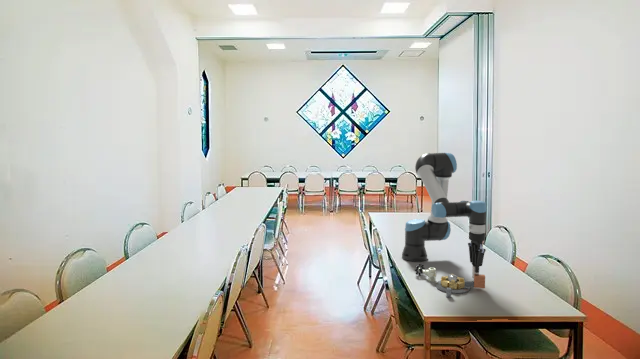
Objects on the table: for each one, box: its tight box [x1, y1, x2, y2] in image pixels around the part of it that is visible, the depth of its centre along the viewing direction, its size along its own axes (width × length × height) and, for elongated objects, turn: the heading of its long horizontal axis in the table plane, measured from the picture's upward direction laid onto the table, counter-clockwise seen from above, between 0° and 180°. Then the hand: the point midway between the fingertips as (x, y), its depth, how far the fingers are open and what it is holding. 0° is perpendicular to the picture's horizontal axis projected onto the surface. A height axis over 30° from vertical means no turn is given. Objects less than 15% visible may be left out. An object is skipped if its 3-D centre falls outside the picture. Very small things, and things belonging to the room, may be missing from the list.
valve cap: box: [435, 273, 470, 295], centre depth 211 cm, size 16×16×6 cm
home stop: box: [445, 288, 452, 299], centre depth 200 cm, size 2×2×4 cm
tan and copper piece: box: [440, 273, 486, 289], centre depth 210 cm, size 21×11×6 cm, turn 76°
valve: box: [413, 263, 437, 283], centre depth 224 cm, size 7×7×12 cm
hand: (475, 278), depth 213 cm, fingers closed
